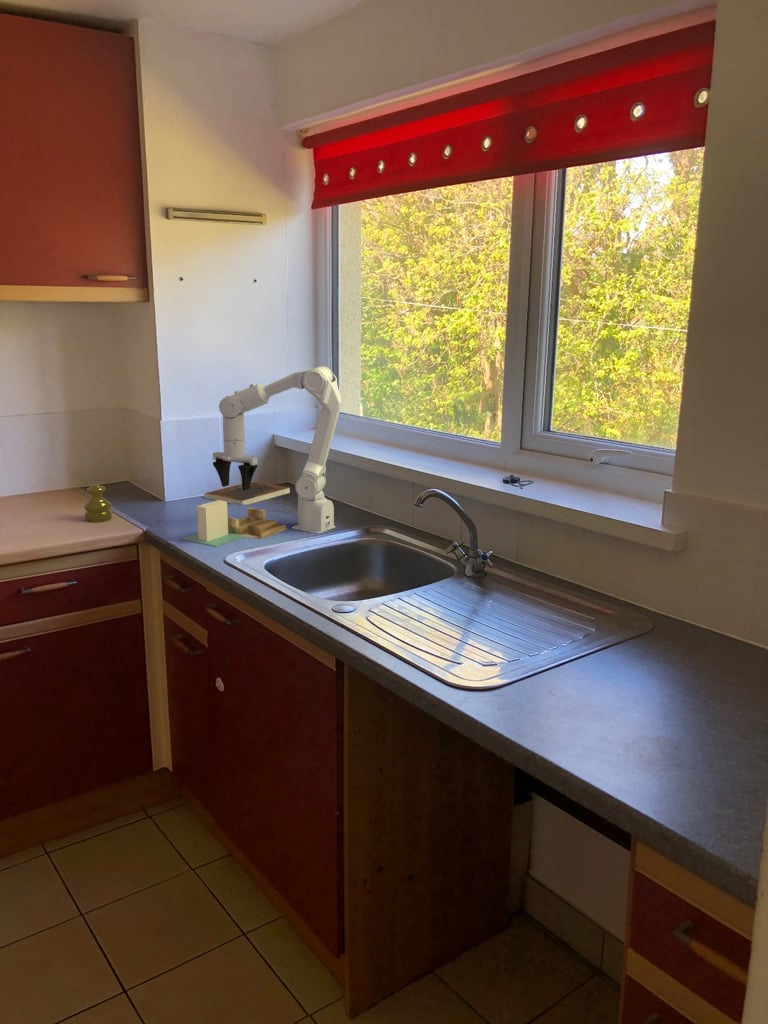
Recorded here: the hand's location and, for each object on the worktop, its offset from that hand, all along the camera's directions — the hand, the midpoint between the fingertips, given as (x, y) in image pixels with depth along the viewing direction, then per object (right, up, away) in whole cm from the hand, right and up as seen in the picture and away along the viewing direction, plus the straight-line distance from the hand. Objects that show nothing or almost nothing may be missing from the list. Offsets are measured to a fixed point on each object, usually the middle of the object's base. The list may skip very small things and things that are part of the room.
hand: (235, 487), depth 232 cm
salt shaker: (-40, -9, +6) cm, 42 cm away
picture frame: (-2, -2, +36) cm, 36 cm away
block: (-4, -13, -12) cm, 18 cm away
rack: (+6, -12, -4) cm, 14 cm away
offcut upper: (+8, -11, -7) cm, 15 cm away
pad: (-4, -14, -12) cm, 19 cm away
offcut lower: (+9, -12, -6) cm, 16 cm away
